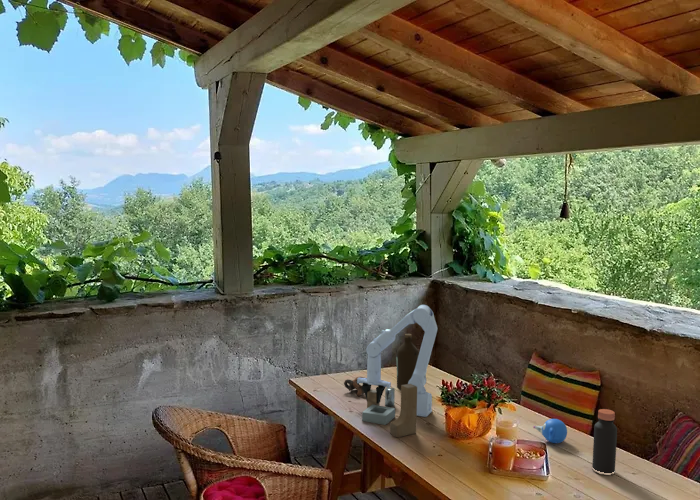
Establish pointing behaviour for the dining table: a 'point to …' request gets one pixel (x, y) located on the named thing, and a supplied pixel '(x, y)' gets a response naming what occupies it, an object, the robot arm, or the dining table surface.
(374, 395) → the square peg
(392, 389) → the round peg
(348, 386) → the pottery mug
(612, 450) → the bottle
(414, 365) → the olive oil
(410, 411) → the brown boot
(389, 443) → the dining table surface
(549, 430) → the blue rubber bulb blower
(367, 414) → the socket block
